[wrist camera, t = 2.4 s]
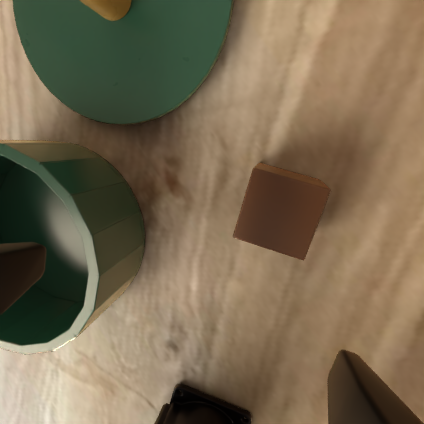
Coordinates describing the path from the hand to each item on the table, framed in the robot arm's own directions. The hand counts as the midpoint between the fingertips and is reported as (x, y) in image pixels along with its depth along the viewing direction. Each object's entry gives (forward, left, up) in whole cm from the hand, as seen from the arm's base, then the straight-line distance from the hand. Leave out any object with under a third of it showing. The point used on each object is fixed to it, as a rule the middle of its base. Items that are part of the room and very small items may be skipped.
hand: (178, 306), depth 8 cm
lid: (+11, -11, -12) cm, 19 cm away
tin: (+13, +5, -12) cm, 18 cm away
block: (-2, -2, -12) cm, 12 cm away
